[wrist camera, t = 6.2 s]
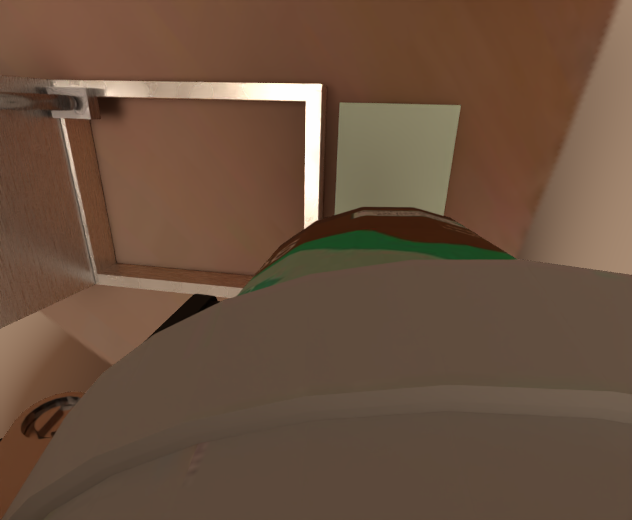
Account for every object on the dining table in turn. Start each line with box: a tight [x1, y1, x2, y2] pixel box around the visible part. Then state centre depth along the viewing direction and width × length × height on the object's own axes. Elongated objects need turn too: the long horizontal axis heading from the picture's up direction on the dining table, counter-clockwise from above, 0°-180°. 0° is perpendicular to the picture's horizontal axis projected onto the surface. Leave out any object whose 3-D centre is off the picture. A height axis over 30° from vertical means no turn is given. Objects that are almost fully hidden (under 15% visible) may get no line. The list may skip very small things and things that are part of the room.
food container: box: [2, 207, 632, 520], centre depth 8 cm, size 12×6×10 cm, turn 160°
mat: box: [335, 102, 461, 216], centre depth 28 cm, size 14×8×1 cm, turn 178°
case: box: [0, 75, 327, 328], centre depth 23 cm, size 16×23×16 cm
